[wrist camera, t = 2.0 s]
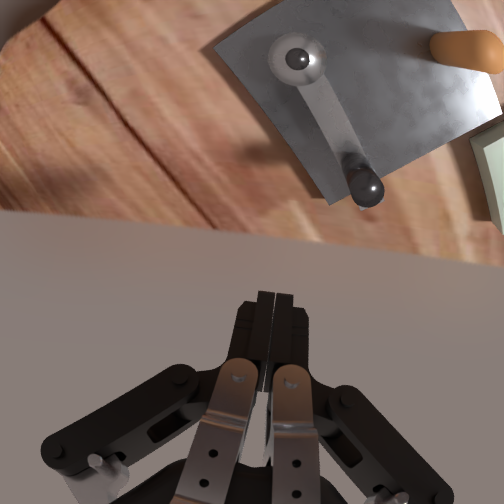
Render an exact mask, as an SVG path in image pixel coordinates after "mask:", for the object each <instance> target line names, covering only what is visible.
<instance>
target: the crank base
mask: <svg viewBox="0 0 504 504" xmlns="http://www.w3.org/2000/svg"><path fill="white" fill-rule="evenodd" d="M451 31H468V30H467V29H466V27H465V25H464V23H463V21H462V19H461V18H460V16H459V14H458V12H457V11H456V9H455V7H454V6H453V4H452V2H451V1H450V0H284V1H282V2H281V3H279V4H277V5H276V6H274V7H272V8H271V9H269V10H267V11H266V12H264V13H262V14H261V15H259V16H258V17H256V18H255V19H253V20H252V21H250V22H249V23H247V24H246V25H244V26H243V27H241V28H240V29H238V30H237V31H235V32H234V33H232V34H231V35H230V36H228V37H227V38H225V39H224V40H223V41H221V42H220V43H219V44H217V45H216V46H215V47H213V49H214V50H215V51H216V52H217V53H218V55H219V56H220V57H221V58H222V59H223V60H224V62H225V63H226V64H227V65H228V66H229V68H230V69H231V70H232V71H233V73H234V74H235V75H236V76H237V77H238V79H239V80H240V81H241V82H242V84H243V85H244V86H245V87H246V89H247V90H248V91H249V93H250V94H251V95H252V96H253V98H254V99H255V100H256V102H257V103H258V104H259V105H260V107H261V108H262V109H263V111H264V112H265V113H266V115H267V116H268V117H269V119H270V120H271V121H272V123H273V124H274V125H275V127H276V128H277V130H278V131H279V132H280V134H281V135H282V136H283V138H284V139H285V141H286V142H287V143H288V145H289V146H290V148H291V149H292V150H293V152H294V153H295V155H296V156H297V158H298V159H299V160H300V162H301V163H302V165H303V166H304V168H305V169H306V171H307V172H308V174H309V175H310V177H311V178H312V180H313V181H314V183H315V184H316V186H317V187H318V189H319V190H320V192H321V193H322V195H323V196H324V198H325V199H326V201H327V202H328V204H329V206H330V205H331V204H333V203H335V202H337V201H339V200H341V199H343V198H344V197H346V196H348V195H350V194H351V193H350V190H349V187H348V185H347V182H346V179H345V177H344V174H343V171H342V169H341V167H340V165H339V163H338V161H337V159H336V157H335V155H334V153H333V151H332V149H331V147H330V145H329V143H328V142H327V140H326V138H325V136H324V134H323V132H322V130H321V128H320V127H319V125H318V123H317V121H316V119H315V118H314V116H313V114H312V112H311V110H310V109H309V107H308V105H307V103H306V102H305V100H304V98H303V97H302V95H301V93H300V91H299V90H298V88H297V86H292V85H288V84H286V83H284V82H282V81H280V80H279V79H278V78H277V77H276V76H275V75H274V74H273V73H272V71H271V69H270V67H269V63H268V53H269V50H270V47H271V45H272V44H273V43H274V42H275V41H276V40H277V39H278V38H279V37H281V36H283V35H285V34H288V33H295V32H298V33H304V34H307V35H310V36H312V37H314V38H315V39H316V40H318V41H319V42H320V44H321V45H322V46H323V48H324V50H325V52H326V56H327V66H326V69H325V71H324V75H325V77H326V78H327V80H328V82H329V84H330V86H331V87H332V89H333V91H334V93H335V95H336V96H337V98H338V100H339V102H340V104H341V106H342V108H343V110H344V112H345V114H346V116H347V118H348V120H349V122H350V124H351V126H352V128H353V130H354V132H355V134H356V136H357V138H358V140H359V142H360V144H361V146H362V149H363V151H364V153H365V155H366V157H367V160H368V161H369V163H370V164H371V166H372V167H373V169H374V171H375V172H376V174H377V175H378V177H379V179H380V178H382V177H384V176H386V175H387V174H389V173H391V172H393V171H395V170H397V169H399V168H401V167H402V166H404V165H406V164H408V163H410V162H412V161H414V160H416V159H417V158H419V157H421V156H423V155H425V154H427V153H429V152H431V151H432V150H434V149H436V148H438V147H440V146H442V145H444V144H446V143H447V142H449V141H451V140H453V139H455V138H457V137H459V136H461V135H463V134H464V133H466V132H468V131H470V130H472V129H474V128H476V127H478V126H480V125H481V124H483V123H485V122H487V121H489V120H491V119H493V118H495V117H497V116H498V115H500V114H502V111H501V108H500V105H499V102H498V99H497V97H496V94H495V91H494V88H493V86H492V83H491V81H490V78H489V76H488V73H485V72H480V71H475V70H470V69H464V68H458V67H452V66H445V65H442V64H440V63H439V62H437V61H436V60H435V59H434V57H433V56H432V54H431V51H430V46H429V44H430V39H431V38H432V36H433V35H434V34H436V33H439V32H451Z"/></svg>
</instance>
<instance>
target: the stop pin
mask: <svg viewBox="0 0 504 504" xmlns="http://www.w3.org/2000/svg"><path fill="white" fill-rule="evenodd" d="M429 46H430V51H431V54H432V56H433V57H434V59H435V60H436V61H437V62H439V63H440V64H442V65H445V66H452V67H458V68H464V69H470V70H475V71H480V72H485V73H489V74H498V73H500V72H501V71H503V69H504V45H503V43H502V42H501V40H500V39H499V38H498V37H497V36H496V35H495V34H494V33H492V32H490V31H487V30H470V31H451V32H439V33H436V34H434V35H433V36H432V38H431V39H430V44H429Z"/></svg>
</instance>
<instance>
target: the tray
mask: <svg viewBox="0 0 504 504" xmlns="http://www.w3.org/2000/svg"><path fill="white" fill-rule="evenodd" d="M469 140H470V143H471V146H472V149H473V152H474V155H475V159H476V162H477V165H478V168H479V172H480V175H481V179H482V183H483V186H484V190H485V194H486V198H487V202H488V207H489V211H490V216H491V221H492V223H493V224H494V225H495V226H496V227H497V229H498V230H499V231H500V232H501V233H502V235H504V121H502V122H500V123H498V124H496V125H494V126H492V127H491V128H489V129H487V130H485V131H483V132H481V133H479V134H477V135H476V136H474V137H472V138H470V139H469Z"/></svg>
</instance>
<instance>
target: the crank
mask: <svg viewBox="0 0 504 504" xmlns="http://www.w3.org/2000/svg"><path fill="white" fill-rule="evenodd" d="M268 63H269V67H270V69H271V71H272V73H273V74H274V75H275V76H276V77H277V78H278V79H279V80H280V81H282V82H284V83H286V84H288V85H292V86H297V88H298V90H299V91H300V93H301V95H302V97H303V98H304V100H305V102H306V103H307V105H308V107H309V109H310V110H311V112H312V114H313V116H314V118H315V119H316V121H317V123H318V125H319V127H320V128H321V130H322V132H323V134H324V136H325V138H326V140H327V142H328V143H329V145H330V147H331V149H332V151H333V153H334V155H335V157H336V159H337V161H338V163H339V165H340V167H341V169H342V171H343V174H344V177H345V179H346V182H347V185H348V187H349V190H350V193H351V196H352V199H353V200H354V202H355V203H356V204H357V205H359V208H360V210H361V211H362V210H364V209H367V208H369V207H373V206H375V205H377V204H378V203H381V202H383V201H385V200H384V198H383V196H384V192H385V191H384V186H383V183H382V182H381V180H380V179H379V177H378V175H377V174H376V172H375V171H374V169H373V167H372V166H371V164H370V163H369V161H368V160H367V157H366V155H365V153H364V151H363V149H362V146H361V144H360V142H359V140H358V138H357V136H356V134H355V132H354V130H353V128H352V126H351V124H350V122H349V120H348V118H347V116H346V114H345V112H344V110H343V108H342V106H341V104H340V102H339V100H338V98H337V96H336V95H335V93H334V91H333V89H332V87H331V86H330V84H329V82H328V80H327V78H326V77H325V75H324V71H325V69H326V66H327V56H326V52H325V50H324V48H323V46H322V45H321V44H320V42H319V41H318V40H316V39H315V38H314V37H312V36H310V35H307V34H304V33H298V32H295V33H288V34H285V35H283V36H281V37H279V38H278V39H277V40H276V41H275V42H274V43H273V44H272V45H271V47H270V50H269V53H268Z"/></svg>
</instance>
